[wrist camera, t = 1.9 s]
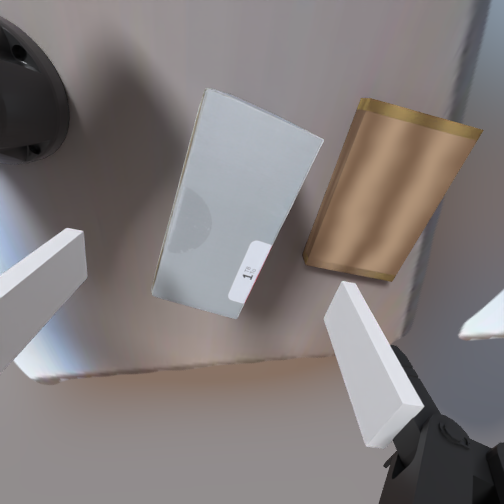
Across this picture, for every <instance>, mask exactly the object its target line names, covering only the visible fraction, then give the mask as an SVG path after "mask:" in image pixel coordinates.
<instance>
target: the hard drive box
mask: <svg viewBox="0 0 504 504" xmlns="http://www.w3.org/2000/svg"><path fill="white" fill-rule="evenodd" d="M323 141H324V139H322V138H319V137H318V136H316V135H314V134H312V133H310V132H308V131H307V130H305V129H303V128H301V127H299V126H297V125H295V124H293V123H291V122H289V121H286V120H285V119H283V118H281V117H279V116H277V115H275V114H273V113H271V112H269V111H266V110H264V109H262V108H260V107H258V106H256V105H254V104H251V103H249V102H247V101H245V100H243V99H240V98H238V97H236V96H233V95H231V94H227V93H224V92H221V91H218V90H214V89H211V88H206V89H205V90H204V93H203V96H202V100H201V103H200V106H199V109H198V113H197V116H196V120H195V124H194V128H193V132H192V135H191V139H190V143H189V147H188V150H187V154H186V158H185V162H184V165H183V169H182V173H181V177H180V181H179V185H178V189H177V193H176V196H175V200H174V204H173V208H172V211H171V215H170V219H169V223H168V226H167V230H166V234H165V237H164V241H163V245H162V249H161V252H160V256H159V260H158V263H157V267H156V271H155V275H154V279H153V284H152V289H151V291H152V296H154V297H157V298H161V299H165V300H168V301H172V302H175V303H179V304H182V305H186V306H190V307H193V308H197V309H200V310H204V311H208V312H211V313H215V314H219V315H222V316H226V317H229V318H234V319H238V316H239V314H240V312H241V310H242V308H243V306H244V304H245V302H246V300H247V298H248V296H249V294H250V292H251V290H252V288H253V286H254V284H255V282H256V280H257V278H258V276H259V273H260V271H261V269H262V267H263V265H264V263H265V261H266V259H267V257H268V254H269V252H270V250H271V248H272V246H273V243H274V241H275V239H276V237H277V235H278V233H279V231H280V229H281V227H282V225H283V223H284V221H285V219H286V217H287V215H288V213H289V211H290V209H291V207H292V205H293V203H294V201H295V199H296V197H297V195H298V193H299V191H300V188H301V186H302V184H303V182H304V180H305V178H306V176H307V174H308V172H309V170H310V168H311V166H312V164H313V162H314V160H315V158H316V156H317V154H318V152H319V150H320V148H321V145H322V143H323Z"/></svg>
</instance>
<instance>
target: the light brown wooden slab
mask: <svg viewBox="0 0 504 504" xmlns="http://www.w3.org/2000/svg"><path fill="white" fill-rule="evenodd" d="M482 132H483V130H481V129H478V128H474V127H471V126H467V125H464V124H460V123H456V122H453V121H449V120H446V119H442V118H439V117H435V116H432V115H428V114H425V113H421V112H417V111H414V110H410V109H407V108H403V107H400V106H396V105H393V104H389V103H386V102H382V101H378V100H375V99H371V98H361V100H360V103H359V105H358V108H357V111H356V113H355V116H354V119H353V121H352V124H351V127H350V129H349V132H348V135H347V137H346V140H345V142H344V145H343V148H342V150H341V153H340V156H339V158H338V161H337V164H336V166H335V169H334V172H333V174H332V177H331V180H330V182H329V185H328V188H327V190H326V193H325V196H324V198H323V201H322V204H321V206H320V209H319V211H318V214H317V217H316V219H315V222H314V225H313V227H312V230H311V233H310V235H309V238H308V241H307V243H306V246H305V249H304V251H303V254H302V255H303V258H304V261H305V264H306V265H308V266H314V267H319V268H324V269H329V270H334V271H339V272H344V273H349V274H355V275H360V276H365V277H370V278H375V279H380V280H385V281H390V282H392V281H393V279H394V278H395V276H396V274H397V273H398V271H399V269H400V268H401V266H402V264H403V263H404V261H405V259H406V258H407V256H408V254H409V253H410V251H411V249H412V248H413V246H414V244H415V243H416V241H417V240H418V238H419V236H420V235H421V233H422V231H423V230H424V228H425V226H426V225H427V223H428V221H429V220H430V218H431V216H432V215H433V213H434V211H435V210H436V208H437V206H438V205H439V203H440V201H441V200H442V198H443V196H444V195H445V193H446V191H447V190H448V188H449V187H450V185H451V183H452V181H453V180H454V178H455V177H456V175H457V173H458V171H459V170H460V168H461V167H462V165H463V163H464V161H465V160H466V158H467V157H468V155H469V153H470V152H471V150H472V148H473V147H474V145H475V143H476V142H477V140H478V139H479V137H480V135H481V134H482Z"/></svg>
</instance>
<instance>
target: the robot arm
mask: <svg viewBox="0 0 504 504" xmlns="http://www.w3.org/2000/svg"><path fill="white" fill-rule="evenodd" d="M68 125H69V108H68V101H67V97H66V93H65V90H64V87H63V85H62V82H61V80H60V78H59V76H58V74H57V72H56V70H55V68H54V67H53V65H52V63H51V62H50V60H49V59H48V57H47V56H46V55H45V53H44V52H43V51H42V50H41V48H40V47H39V46H38V45H37V44H36V43H35V42H34V41H33V40H32V39H31V38H30V37H29V36H28V35H27V34H26V33H25V32H23V31H22V30H21V29H20V28H18V27H17V26H16V25H14V24H13V23H11V22H10V21H8V20H6V19H4V18H3V17H1V16H0V163H5V164H23V163H29V162H32V161H36V160H39V159H42V158H45V157H47V156H49V155H51V154H52V153H54V152H55V151H56V150H57V149H58V148H59V147H60V145H61V144H62V142H63V141H64V139H65V136H66V134H67V130H68ZM87 278H88V276H87V264H86V252H85V240H84V231H81V230H76V229H71V228H66V229H64V230H63V231H61V232H60V233H59V234H57V235H56V236H54V237H53V238H52V239H50V240H49V241H47V242H46V243H45V244H43V245H42V246H41V247H39V248H38V249H36V250H35V251H34V252H32V253H31V254H29V255H28V256H27V257H25V258H24V259H22V260H21V261H20V262H18V263H17V264H15V265H14V266H13V267H11V268H10V269H8V270H7V271H6V272H4V273H3V274H1V275H0V374H1V373H2V372H3V371H4V370H5V369H6V368H7V366H8V365H9V364H10V363H11V362H12V361H13V360H14V359H15V358H16V357H17V355H18V354H19V353H20V352H21V351H22V350H23V349H24V348H25V347H26V345H27V344H28V343H29V342H30V341H31V340H32V339H33V338H34V337H35V335H36V334H37V333H38V332H39V331H40V330H41V329H42V328H43V327H44V325H45V324H46V323H47V322H48V321H49V320H50V319H51V318H52V317H53V315H54V314H55V313H56V312H57V311H58V310H59V309H60V308H61V306H62V305H63V304H64V303H65V302H66V301H67V300H68V299H69V298H70V296H71V295H72V294H73V293H74V292H75V291H76V290H77V289H78V288H79V286H80V285H81V284H82V283H83V282H84V281H85V280H86V279H87ZM324 321H325V324H326V327H327V330H328V334H329V337H330V340H331V343H332V346H333V349H334V352H335V355H336V358H337V361H338V363H339V367H340V370H341V373H342V376H343V379H344V382H345V385H346V388H347V391H348V394H349V397H350V400H351V403H352V406H353V409H354V412H355V415H356V418H357V421H358V424H359V428H360V431H361V433H362V436H363V440H364V443H365V446H366V447H375V448H383V449H385V448H386V447H387V446H388V445H389V444H390V443H391V442H392V441H393V442H394V444H395V447H396V449H397V451H396V452H395V453H394V454H393V455H392V456H391V457H390V458H389V459H388V460H387V461H386V462H385V464H384V467H385V468H387V467H388V466H389V465H390V467H389V471H388V474H387V478H386V481H385V484H384V488H383V491H382V494H381V498H380V501H379V504H504V443H499V444H498V445H496V446H495V447H494V448H489V447H487V446H485V445H483V444H480V443H478V442H476V441H474V440H472V439H470V438H469V436H468V435H467V433H466V432H465V431H464V430H463V429H462V428H461V426H459V425H458V424H457V423H456V422H455V421H453V420H452V419H450V418H448V417H447V416H445V415H441V414H440V412H439V410H438V408H437V407H436V405H435V403H434V402H433V400H432V398H431V397H430V395H429V394H428V392H427V390H426V388H425V387H424V385H423V383H422V382H421V380H420V379H419V378H418V375H417V373H416V372H415V370H414V369H413V368H412V365H411V363H410V362H409V360H408V358H407V357H406V356H405V354H404V353H403V352H402V351H400V349H399V348H398V347H397V346H394V345H389V343H388V341H387V339H386V337H385V336H384V334H383V332H382V330H381V328H380V327H379V325H378V323H377V321H376V320H375V318H374V316H373V314H372V312H371V311H370V309H369V307H368V305H367V304H366V302H365V300H364V298H363V296H362V295H361V293H360V291H359V289H358V287H357V286H356V284H355V283H350V282H345V281H342V282H341V284H340V286H339V288H338V290H337V292H336V294H335V296H334V298H333V300H332V302H331V304H330V306H329V308H328V311H327V313H326V315H325V317H324Z"/></svg>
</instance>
